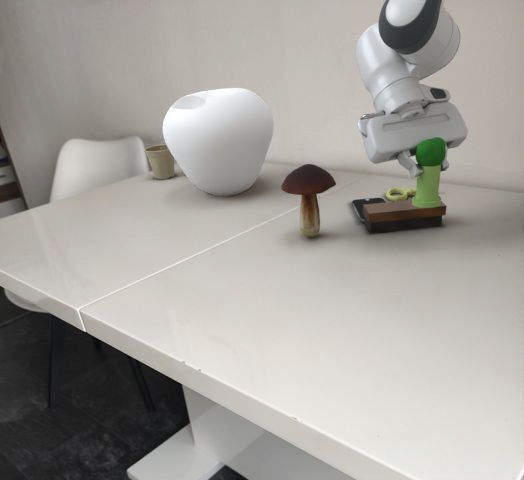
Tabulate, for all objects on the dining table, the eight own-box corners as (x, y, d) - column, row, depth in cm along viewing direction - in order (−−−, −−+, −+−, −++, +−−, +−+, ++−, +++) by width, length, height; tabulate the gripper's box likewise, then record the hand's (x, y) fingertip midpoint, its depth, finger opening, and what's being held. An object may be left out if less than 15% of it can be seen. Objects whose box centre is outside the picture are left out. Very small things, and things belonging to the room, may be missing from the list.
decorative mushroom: (307, 250, 108) (304, 175, 100) (274, 237, 115) (268, 166, 107) (347, 235, 113) (347, 162, 105) (312, 223, 121) (310, 154, 112)
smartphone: (382, 196, 130) (396, 217, 117) (382, 200, 130) (396, 220, 117) (350, 199, 130) (361, 220, 117) (350, 202, 130) (361, 223, 118)
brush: (435, 217, 118) (437, 197, 115) (444, 226, 113) (446, 205, 110) (362, 224, 118) (362, 204, 115) (368, 234, 112) (369, 213, 110)
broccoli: (436, 198, 104) (442, 134, 97) (445, 206, 99) (452, 140, 93) (407, 200, 104) (411, 137, 97) (415, 209, 99) (420, 143, 93)
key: (439, 193, 131) (440, 184, 129) (395, 203, 128) (395, 194, 126) (422, 186, 136) (422, 178, 135) (379, 195, 133) (379, 187, 132)
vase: (226, 172, 164) (216, 83, 151) (296, 183, 148) (291, 84, 135) (155, 198, 147) (136, 100, 134) (225, 213, 131) (211, 104, 118)
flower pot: (146, 176, 168) (140, 147, 164) (174, 170, 171) (170, 142, 167) (154, 183, 161) (148, 153, 156) (183, 177, 164) (179, 147, 159)
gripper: (360, 104, 94) (390, 172, 92) (455, 88, 100) (485, 152, 98) (347, 127, 100) (375, 192, 98) (437, 111, 106) (465, 172, 104)
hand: (431, 172), depth 98 cm, fingers closed on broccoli, 4 cm apart
